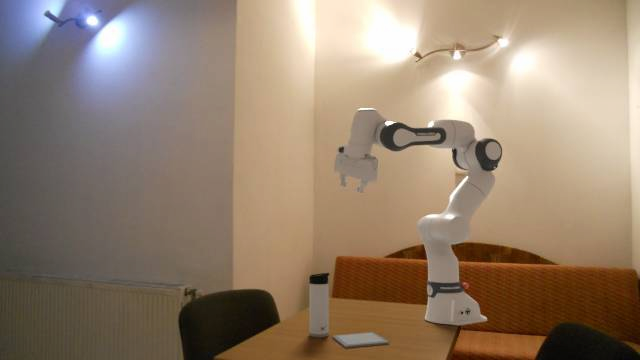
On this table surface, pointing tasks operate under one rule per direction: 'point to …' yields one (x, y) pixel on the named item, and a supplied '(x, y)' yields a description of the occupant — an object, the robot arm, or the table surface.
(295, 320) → the table surface
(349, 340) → the felt pad
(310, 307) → the travel mug
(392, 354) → the table surface
